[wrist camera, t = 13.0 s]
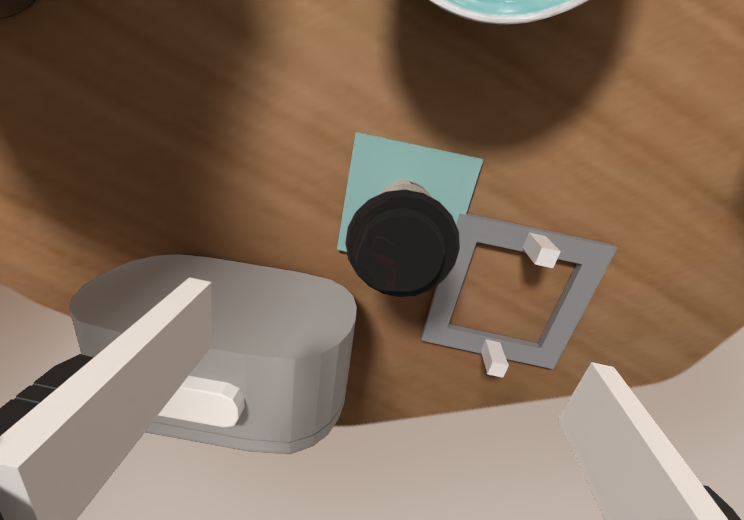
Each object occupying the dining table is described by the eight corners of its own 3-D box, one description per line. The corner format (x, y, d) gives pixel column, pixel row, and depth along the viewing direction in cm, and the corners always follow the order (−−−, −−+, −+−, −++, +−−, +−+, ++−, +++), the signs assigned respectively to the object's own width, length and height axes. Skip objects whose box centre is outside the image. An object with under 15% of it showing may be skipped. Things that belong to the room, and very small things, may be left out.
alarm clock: (164, 325, 38) (49, 432, 26) (153, 244, 34) (10, 325, 22) (354, 358, 37) (327, 484, 25) (365, 279, 33) (339, 383, 21)
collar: (459, 211, 30) (465, 227, 26) (612, 244, 30) (640, 264, 26) (420, 335, 35) (422, 362, 32) (550, 363, 35) (566, 394, 31)
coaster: (356, 131, 28) (355, 132, 27) (481, 158, 28) (483, 159, 27) (338, 247, 32) (337, 249, 32) (446, 270, 32) (447, 273, 32)
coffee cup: (417, 146, 27) (420, 169, 18) (463, 218, 29) (486, 272, 20) (345, 196, 30) (316, 239, 20) (392, 260, 32) (385, 326, 22)
